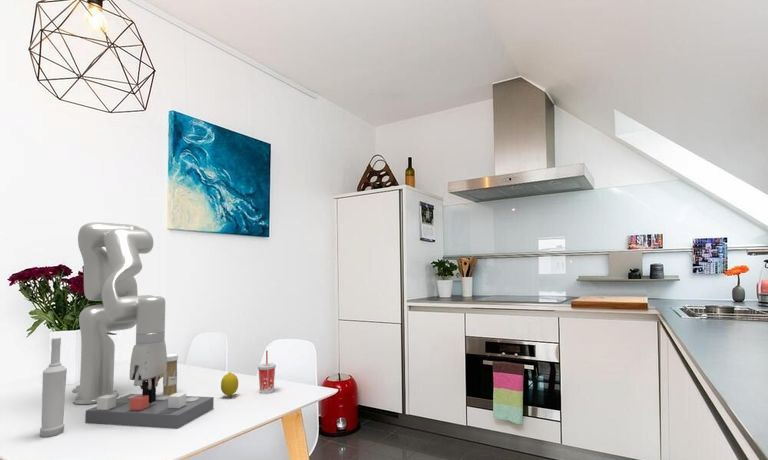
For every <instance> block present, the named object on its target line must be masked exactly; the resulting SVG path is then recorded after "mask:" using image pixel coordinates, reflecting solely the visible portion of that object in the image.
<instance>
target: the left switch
mask: <svg viewBox="0 0 768 460" xmlns="http://www.w3.org/2000/svg"><path fill="white" fill-rule="evenodd" d="M116 399H117V397H116V395H104V396H102V397H99V398H97V403H96V406H97V410H109V409H111V408H114V407H116Z"/></svg>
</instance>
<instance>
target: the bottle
mask: <svg viewBox="0 0 768 460" xmlns="http://www.w3.org/2000/svg"><path fill="white" fill-rule="evenodd" d="M61 344H62V337H54V338H51V350H50V351H51V352H50V363H49V364H48V367H46V369H44V370H43V371H42V394H41V395H42V396H41V398H42V399H41V427H40V429H39V435H40V437H41V438H50V437H55V436H58V435H60V434H62V433H64V430H65V423H64V415H65V400H66V388H67V387H66V384H67V373H68V372H67V370H68V368H66V367H65V366H63V365H62V362H61V346H62V345H61Z"/></svg>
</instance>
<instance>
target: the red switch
mask: <svg viewBox="0 0 768 460" xmlns="http://www.w3.org/2000/svg"><path fill="white" fill-rule="evenodd" d="M147 407H149V395H137V396H134V397H132V398H130V410H142V409H145V408H147Z"/></svg>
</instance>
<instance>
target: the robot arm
mask: <svg viewBox="0 0 768 460" xmlns="http://www.w3.org/2000/svg"><path fill="white" fill-rule="evenodd" d="M77 245H78V249H79V252H80V254H81V257H82V261H83V292H84V296H85V298H86V299H87V301H88V300H89V301H91V302H92V301H93V302H97V301H99V302H101V301H102V304H95V305H94V304H93V305H90V306H86V307H85V308H83V310H81V312H80V313H79V314H78V315H79V316H78V323H79V324H78V325H79V329H80V339H81V341H80V343H81V345H80V347H81V348H80V371H79V373H80V374H79V375H80V377H79V384H78V385H76V387H74V388H73V389H71V393H72V394H73V393H76V396H75V397H74V398H73V403H74V404H76V405H91V404H97V398H99V397H102V396H104V395H116V398H117V397H118V396H119V393H120V392H119V391H118V390H114V381H115V380H114V377H115V353H116V352H115V351H116V349H115V347H116V346H115V345H116V344H115V341H114V340H113V338H112V337H111V336H110V335H109V334H108V333H110V332H116V331H123V330H125V331H126V330H130V329H133V328H134V327H135V345H133V348H132V352H131V357H130V364H129V379H130V380H131V381H133V386H135V387H136V386H139V387H140V389H141V390H142V393H141V394H142V395H149V403H152V402H155V401H156V395H157V387H158V385H159V381H160V379H163V376H164V373H165V372H166V368H167V355H168V354H167V346H166V341H165V339H166V337H165V335H166V333H165V332H166V299H165V297H163V296H154V295H152V294H151V295H150V294H146V295H145V294H144V295H138V283H137V280H136V278H135V276H136V275H138V274H139V273H140V272H142V269H143V263H142V261H141V257H140V254H141V255H142V254H144V255H145V254H149V253H151V251H152V250H153V248H154V238H153V236H152V234H151V233H150V231H148V230H147V229H145V228H143V227H140V226H137V225H134V224H127V223H126V224H125V223H111V222H89V223H86V224H83V225H82V226H81V227H80V229H78V234H77ZM104 248H105V249H104Z"/></svg>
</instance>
